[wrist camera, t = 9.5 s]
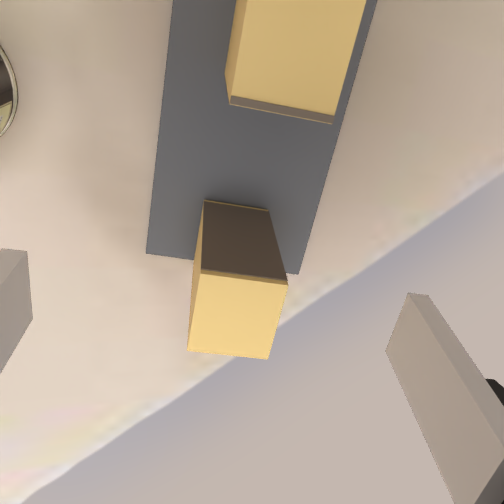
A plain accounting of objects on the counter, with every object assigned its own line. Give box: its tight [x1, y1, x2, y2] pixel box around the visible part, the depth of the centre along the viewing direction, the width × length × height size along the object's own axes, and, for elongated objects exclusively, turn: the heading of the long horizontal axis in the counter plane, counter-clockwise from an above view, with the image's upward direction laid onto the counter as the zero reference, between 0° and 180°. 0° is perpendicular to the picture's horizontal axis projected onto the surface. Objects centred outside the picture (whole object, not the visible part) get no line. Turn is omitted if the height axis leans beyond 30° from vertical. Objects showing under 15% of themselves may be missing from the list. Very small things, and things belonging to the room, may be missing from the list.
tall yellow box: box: [224, 0, 366, 124], centre depth 27 cm, size 9×6×12 cm, turn 168°
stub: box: [187, 200, 288, 359], centre depth 35 cm, size 6×6×12 cm
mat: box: [146, 0, 377, 274], centre depth 36 cm, size 26×14×1 cm, turn 168°
